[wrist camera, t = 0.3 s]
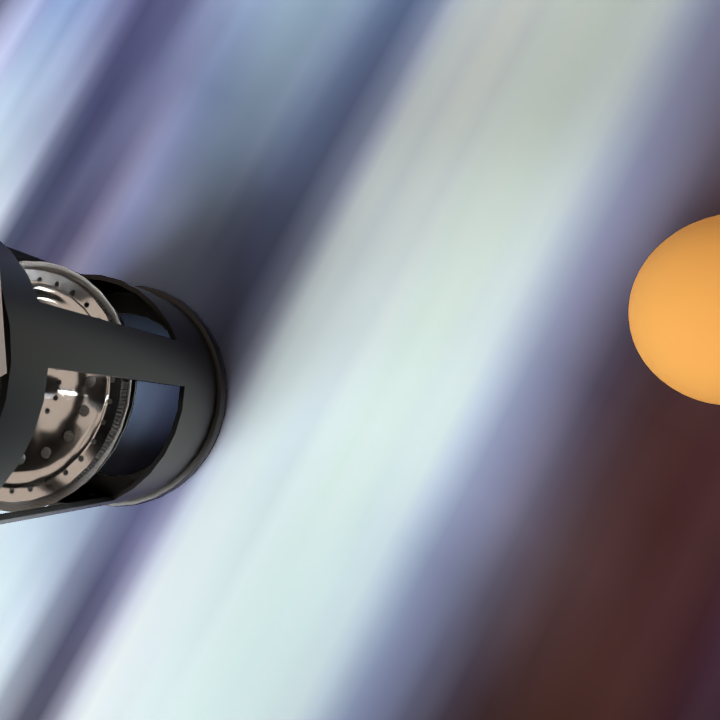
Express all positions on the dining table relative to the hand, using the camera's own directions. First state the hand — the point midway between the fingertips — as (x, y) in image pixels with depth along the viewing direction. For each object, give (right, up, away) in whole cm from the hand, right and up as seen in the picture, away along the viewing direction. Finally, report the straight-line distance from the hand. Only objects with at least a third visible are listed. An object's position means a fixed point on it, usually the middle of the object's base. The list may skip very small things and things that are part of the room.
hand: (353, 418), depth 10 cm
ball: (+12, +2, +10) cm, 16 cm away
